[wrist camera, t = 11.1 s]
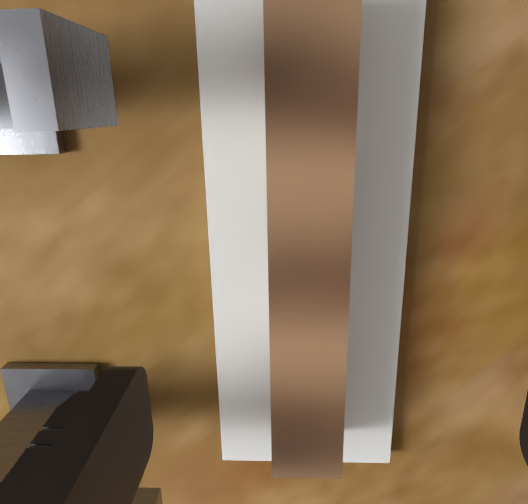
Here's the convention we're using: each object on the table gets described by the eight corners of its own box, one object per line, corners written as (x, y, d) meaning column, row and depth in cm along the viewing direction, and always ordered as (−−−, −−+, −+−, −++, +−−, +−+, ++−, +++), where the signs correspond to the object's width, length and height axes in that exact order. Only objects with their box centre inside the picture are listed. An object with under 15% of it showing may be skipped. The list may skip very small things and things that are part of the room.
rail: (266, 5, 17) (262, -18, 14) (349, 2, 17) (362, -21, 14) (273, 429, 23) (272, 477, 20) (334, 430, 23) (341, 478, 20)
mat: (194, -43, 18) (190, -50, 17) (424, -53, 17) (431, -60, 16) (224, 449, 25) (222, 460, 24) (386, 452, 24) (389, 463, 24)
